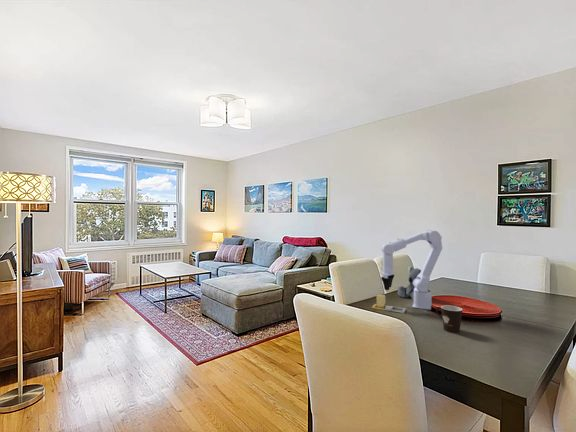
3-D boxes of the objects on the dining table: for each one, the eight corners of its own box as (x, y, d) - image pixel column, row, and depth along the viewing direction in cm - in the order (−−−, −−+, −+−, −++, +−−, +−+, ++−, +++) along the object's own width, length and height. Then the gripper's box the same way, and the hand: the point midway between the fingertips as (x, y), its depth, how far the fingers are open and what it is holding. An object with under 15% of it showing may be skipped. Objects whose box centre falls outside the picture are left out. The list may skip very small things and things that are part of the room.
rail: (405, 309, 168) (405, 308, 168) (404, 313, 162) (404, 311, 162) (374, 305, 176) (374, 303, 176) (371, 308, 170) (371, 306, 170)
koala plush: (395, 296, 196) (395, 265, 196) (415, 293, 203) (416, 264, 203) (417, 303, 180) (417, 270, 180) (438, 300, 188) (438, 268, 188)
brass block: (385, 307, 172) (385, 295, 172) (383, 309, 168) (383, 296, 168) (378, 306, 174) (378, 294, 174) (376, 308, 170) (376, 295, 170)
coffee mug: (466, 333, 134) (466, 311, 134) (446, 333, 134) (446, 311, 134) (452, 324, 145) (452, 303, 145) (434, 324, 146) (434, 303, 146)
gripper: (383, 262, 184) (383, 285, 184) (378, 266, 171) (378, 290, 171) (395, 263, 181) (395, 286, 181) (391, 267, 168) (391, 291, 168)
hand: (387, 288), depth 176 cm, fingers open, 7 cm apart
